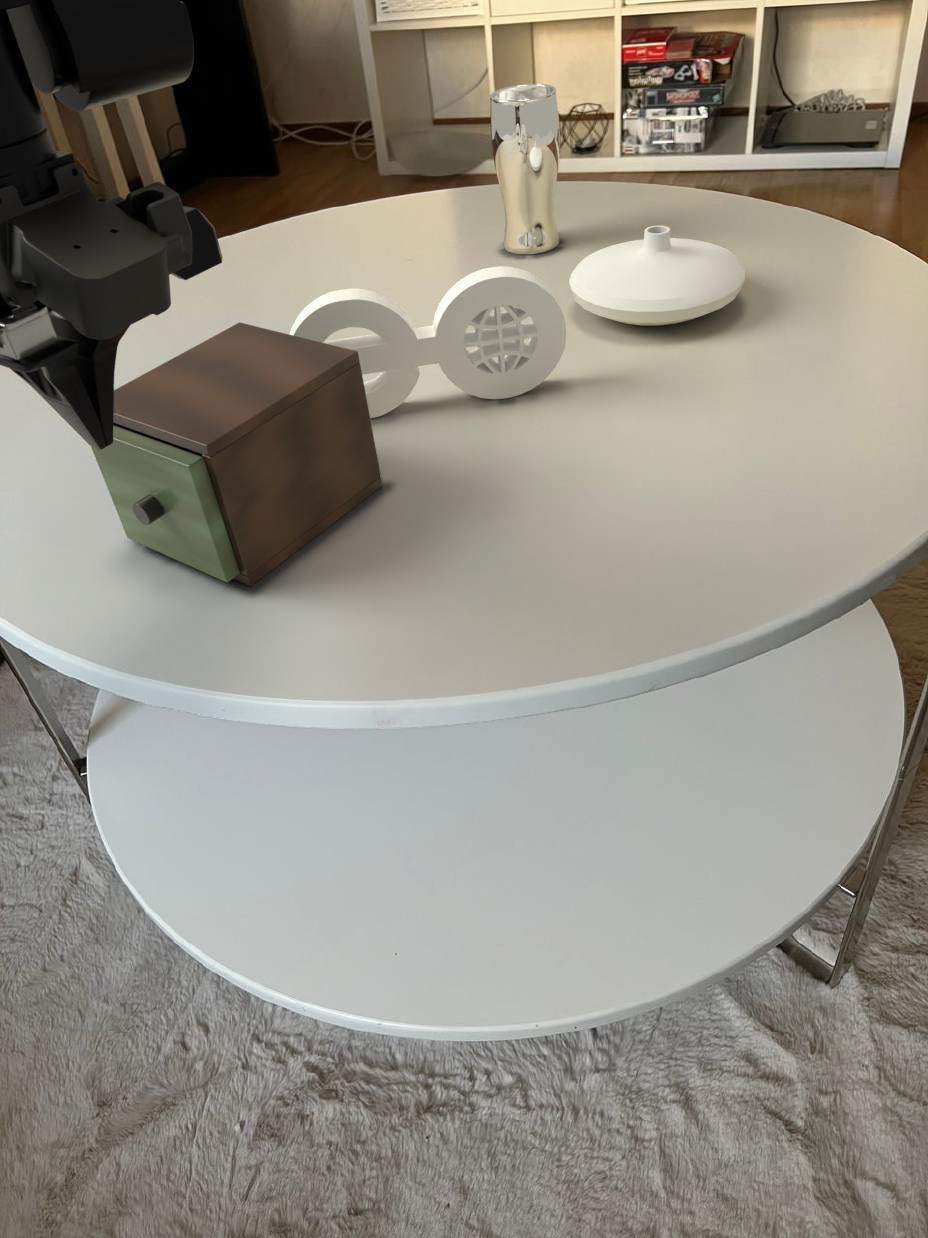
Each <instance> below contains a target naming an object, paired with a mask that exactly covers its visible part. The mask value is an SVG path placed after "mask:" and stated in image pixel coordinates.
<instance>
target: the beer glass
mask: <svg viewBox="0 0 928 1238" xmlns="http://www.w3.org/2000/svg"><path fill="white" fill-rule="evenodd" d="M489 98H490V142H491V150H492V151H491V152H492V159H493V163H494V169H495V173H496V177H497V182H498V185H499V190H500V193H501V198H502V202H503V208H504V217H505V225H504V235H503V248H504V250H505V251H507V252H508V253H511V254H515V255H524V256H525V255H527V256H528V255H537V254H538V255H539V254H542V253H546V252H549V251H551V250H553V249H555V248H556V247H558V246H559V244H560V235H559V231H558V226H557V222H556V215H555V213H556V212H555V199H556V190H557V181H558V174H559V164H560V154H561V153H560V152H561V131H560V117H559V107H558V100H557V88H556V87H555V86H553V85H550V84H547V83H546V84H545V83H525V84H517V85H511V86H506V87H503V88H502V87H501V88H499V89H496V90H494V91H492V92H491V94H490V95H489Z"/></svg>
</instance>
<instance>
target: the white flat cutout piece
mask: <svg viewBox="0 0 928 1238" xmlns="http://www.w3.org/2000/svg"><path fill="white" fill-rule="evenodd" d="M501 307H502V309H504V310H505V311H503V312H501ZM492 311H493V312H492ZM491 313H493V314H491ZM529 317H530V318H531V320H532V321H530V322H524V323H521V322H523V321H524V320H526V319H528V318H529ZM469 326H471V327H474V330H470V331H468V330H467V329H468V327H469ZM348 328H358V329H359V328H360V329H366V330H369V331H371V332H373V334H366V335H359V336H353V337H346V338H338V339H334V340H327V339H328V338H329V337H330V336H331V335H332V334H334V333H336V332H338V331H341V330H344V329H348ZM289 335H293V336H297V337H301V338H305V339H309V340H314V341H318V342H322V343H326V344H330V345H334V346H338V347H342V348H346V349H350V350H354V351H358V355H359V360H360V362H359V363H360V366H361V371H362V376H363V375H369V374H376V373H379V374H378V375H377V376H376V377H374V378H372V379H370V380H367V381H363V382H364V388H365V393H366V398H367V404H368V409H369V415H370V419H375V418H378V417H381V416H382V417H383V416H384V415H386V414H388V413H389V412H391V411H393V410H395V409H396V408H397V407H400V405H401V404H403V402H405V400H406V399H408V397H409V396H410V395H411V393H412V391H413V390H414V388H415V387H416V385H417V382H418V381H419V378H420V376H421V372H420V368H419V367H422V366H430V365H436V364H438V365H439V367H440V369H441V371H442V373H443V374H444V375H445V376H446V378H447V379H448V380H449V382H450V383H452V384H453V385H454V386H455V387H456V388H458V389H459V390H460V391H463V392H465V393H466V394H468V395H471V396H474V397H477V398H480V399H488V400H503V399H510V398H515V397H517V396H520V395H523V394H525V393H527V392H530V391H532V390H533V389H535V388H536V387H538V386H539V385H541V384H542V383H543V382H544V381H545V380H546V379H547V378H548V377H549V376H550V375H551V374H552V373H553V371H554V370H555V369H556V367H557V366H558V364H559V362H560V360H561V358H562V356H563V354H564V351H565V348H566V342H567V325H566V319H565V315H564V313H563V311H562V308H561V306H560V304H559V302H558V301H557V298H556V296H555V294H554V293H553V291H552V290H551V288H550V287H549V286H548V284H546V283H545V282H544V281H543V280H541V279H540V278H539V277H537V275H534V274H533V273H531V272H530V271H527V270H524V269H522V268H517V267H512V266H506V265H505V266H504V265H500V266H492V267H491V266H490V267H486V268H482V269H481V268H480V269H478V270H476V271H473V272H471V273H469V274H466V275H465V276H464V277H462V278H461V279H460V280H458V281H457V282H456V283H455V284H454V285H453V286H451V287H450V288H449V290H448V291H447V292H446V293H445V294H444V295H443V297H442V299H441V301H440V302H439V304H438V306H437V308H436V310H435V314H434V317H433V321H432V325H427V326H420V327H416V326H415V325H414V322H413V320H412V319H411V318H410V316H409V314H408V313H407V312H406V311H405V310H404V309H403V308H402V307H401V306H400V305H399V304H398V303H397V302H395V301H394V300H392V299H391V298H389V297H387V296H385V295H383V294H381V293H379V292H377V291H374V290H370V289H364V288H344V289H337V290H333V291H330V292H326V293H324V294H323V295H321V296H320V295H319V297H317V298H315V299H314V300H312V301H311V302H310V303H308V304H307V305H306V306H305V307H304V308H303V309H302V311H300V313H299V314H298V316H297V317H296V318H295V321H294V322H293V325H292V326H291V329H290V331H289ZM527 339H529V341H528V343H525V340H527ZM472 347H476V348H474V349H473V350H471V351H469V350H468V349H467V348H472ZM495 358H497V361H496V360H495Z"/></svg>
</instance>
